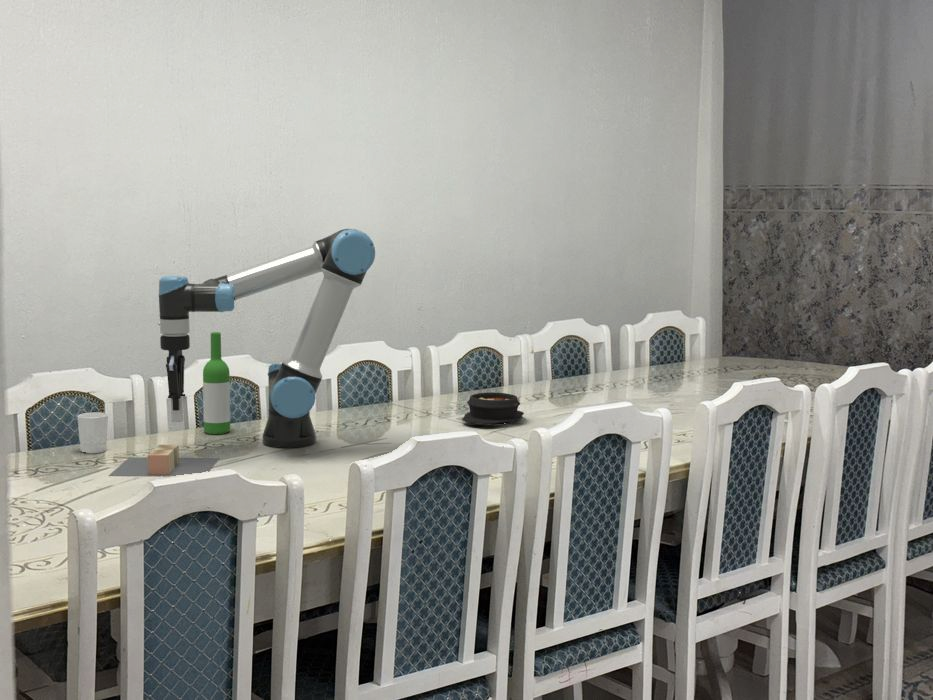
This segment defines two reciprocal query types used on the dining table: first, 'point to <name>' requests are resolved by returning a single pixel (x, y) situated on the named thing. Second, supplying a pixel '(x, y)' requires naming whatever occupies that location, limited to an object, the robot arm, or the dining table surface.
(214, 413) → the wine bottle
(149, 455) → the maple block
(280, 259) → the robot arm
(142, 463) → the mat
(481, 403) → the casserole
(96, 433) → the white cup
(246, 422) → the dining table surface
